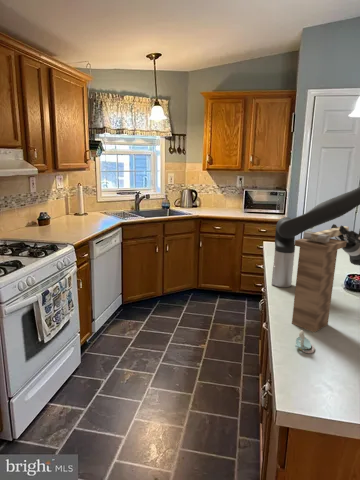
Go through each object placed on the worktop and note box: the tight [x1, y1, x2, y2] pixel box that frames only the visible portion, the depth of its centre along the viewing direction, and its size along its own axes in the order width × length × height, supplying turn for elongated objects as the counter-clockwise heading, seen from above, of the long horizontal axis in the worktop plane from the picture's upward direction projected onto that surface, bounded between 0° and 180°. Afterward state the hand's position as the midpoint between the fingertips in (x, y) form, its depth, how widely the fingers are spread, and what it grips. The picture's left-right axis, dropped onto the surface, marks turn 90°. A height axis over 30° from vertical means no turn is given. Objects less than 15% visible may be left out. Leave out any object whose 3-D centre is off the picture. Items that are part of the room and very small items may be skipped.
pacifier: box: [294, 329, 315, 354], centre depth 112 cm, size 7×6×6 cm
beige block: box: [302, 225, 350, 243], centre depth 127 cm, size 24×8×2 cm, turn 131°
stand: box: [291, 238, 347, 333], centre depth 127 cm, size 14×12×32 cm
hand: (337, 227), depth 130 cm, fingers closed on beige block, 2 cm apart
